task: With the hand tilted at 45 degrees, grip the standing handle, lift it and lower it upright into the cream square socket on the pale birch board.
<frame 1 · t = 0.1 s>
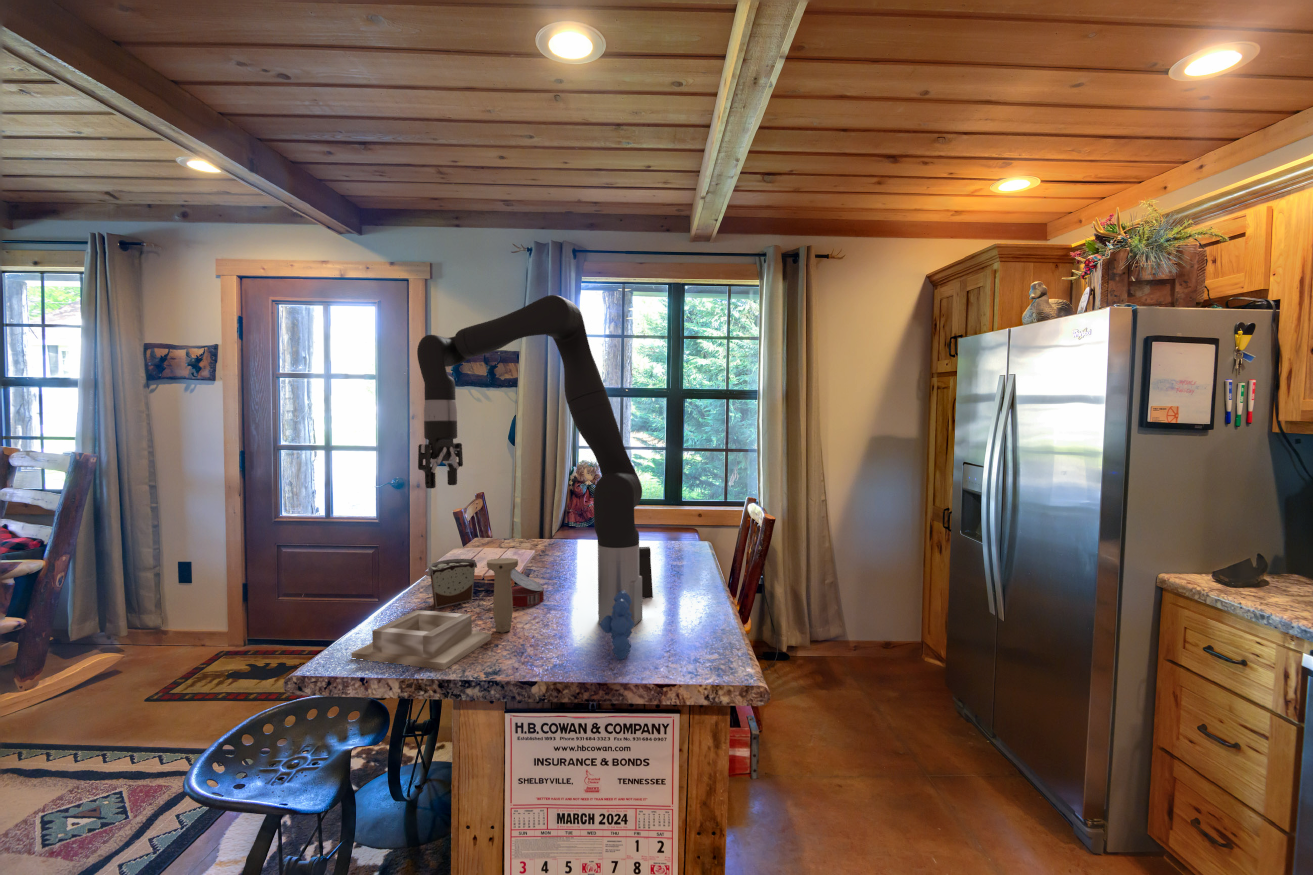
hand: (441, 486, 145), 29 cm above the kitchen island, tool pointing down, fingers open, 8 cm apart
canned food: (524, 602, 150), on the kitchen island
food container: (448, 602, 150), on the kitchen island
door stopper: (638, 594, 156), on the kitchen island
grapes: (617, 656, 114), on the kitchen island
socket stand: (424, 648, 118), on the kitchen island
handle: (503, 631, 128), on the kitchen island
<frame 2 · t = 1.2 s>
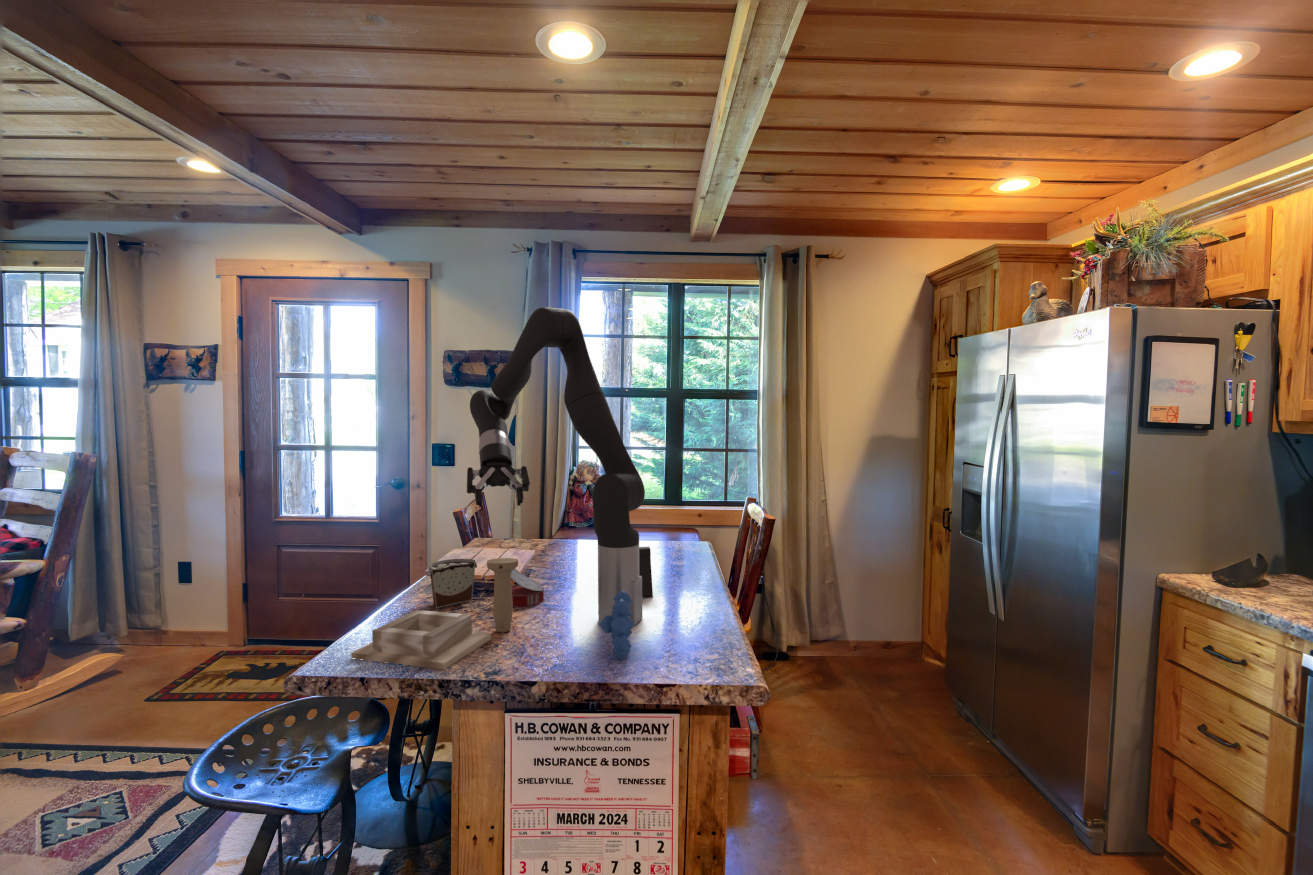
hand: (500, 504, 137), 26 cm above the kitchen island, tool tilted 45°, fingers open, 8 cm apart
nothing on the kitchen island moved.
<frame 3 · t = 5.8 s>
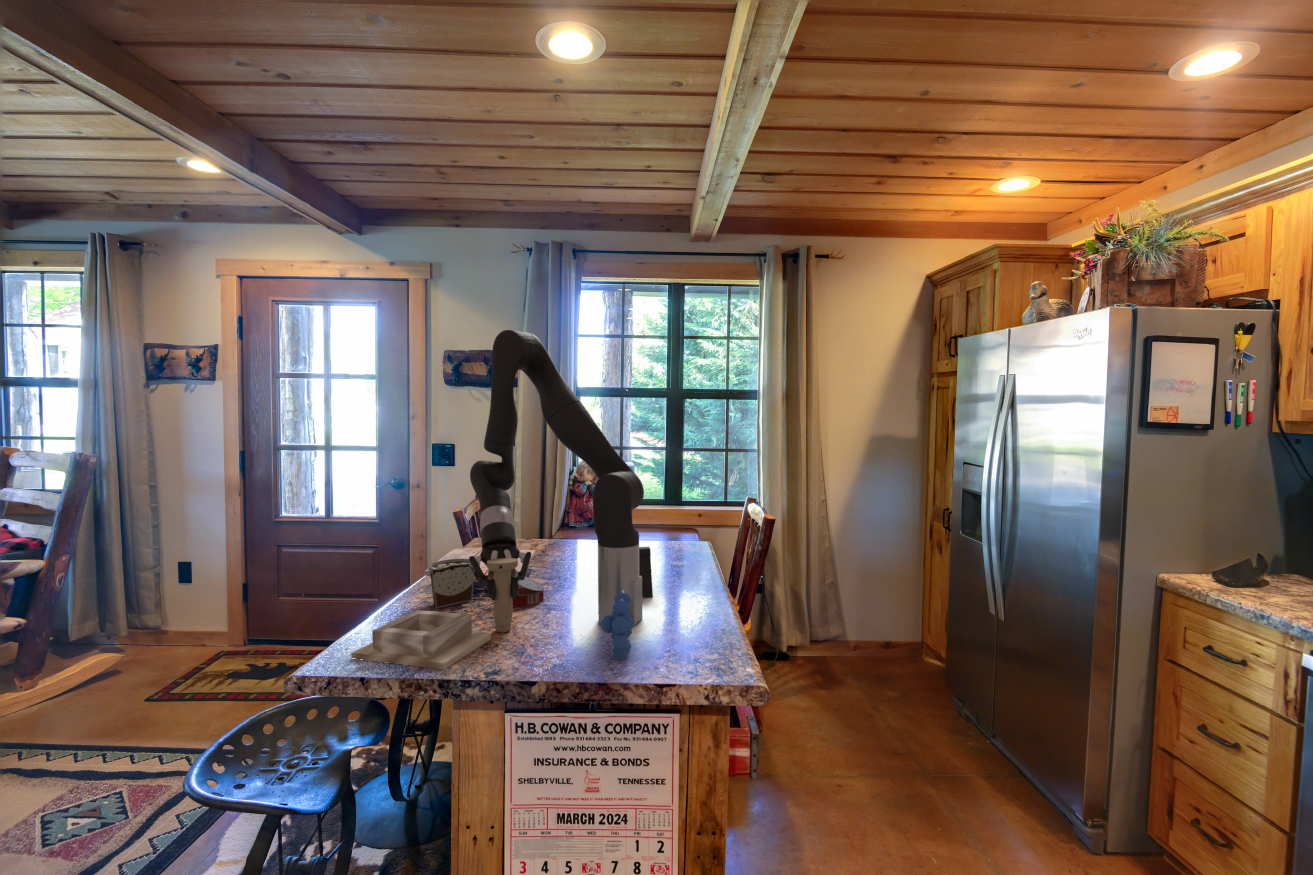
hand: (504, 597, 126), 8 cm above the kitchen island, tool tilted 45°, fingers closed on handle, 3 cm apart
handle: (503, 631, 128), on the kitchen island, touching gripper
everything else where it was.
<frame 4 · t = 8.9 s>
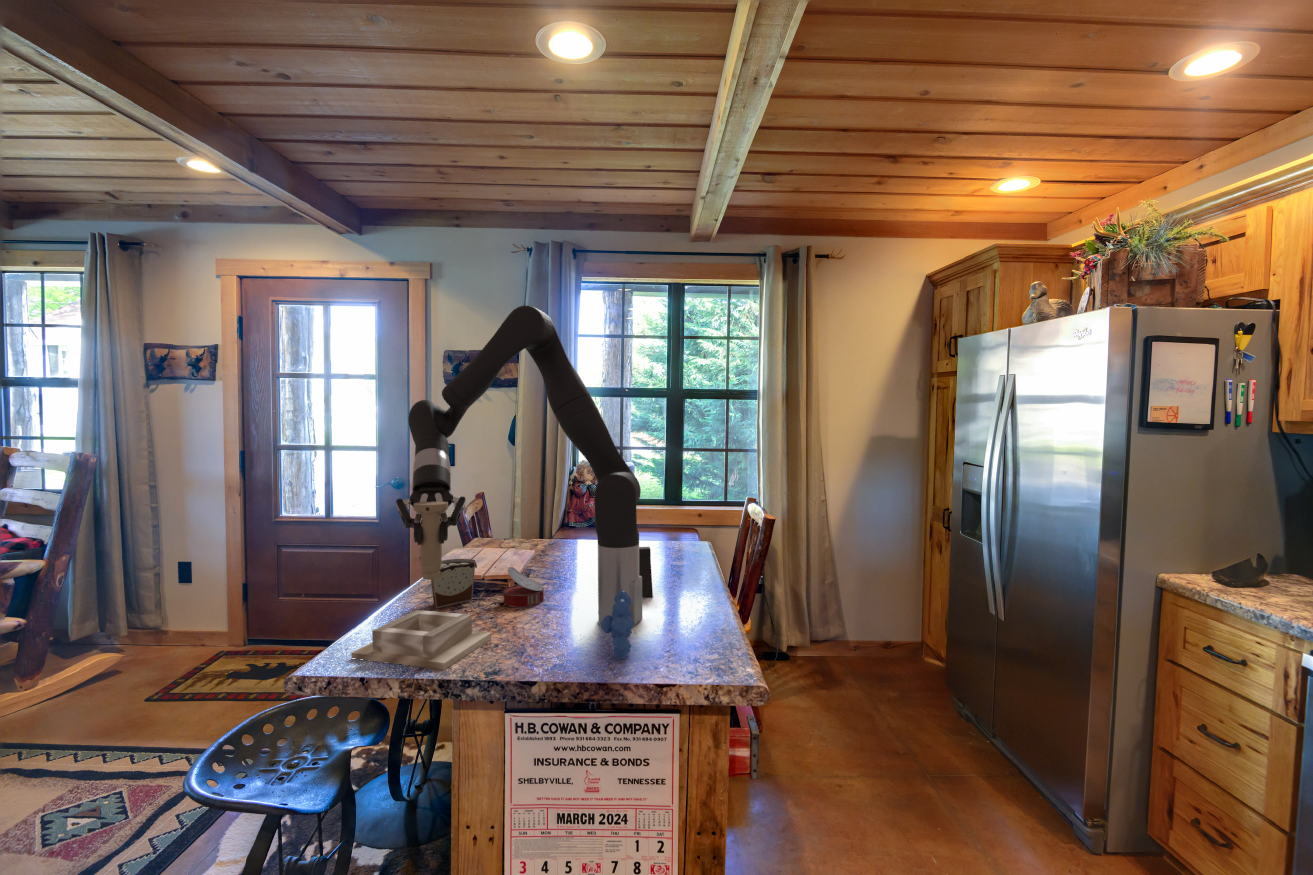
hand: (431, 541, 117), 21 cm above the kitchen island, tool tilted 45°, fingers closed on handle, 3 cm apart
handle: (431, 579, 119), point 13 cm above the kitchen island, touching gripper
everything else where it was.
when the fingers open (9 cm above the kitchen island, at t = 12.3 s): handle stays where it is, resting on socket stand.
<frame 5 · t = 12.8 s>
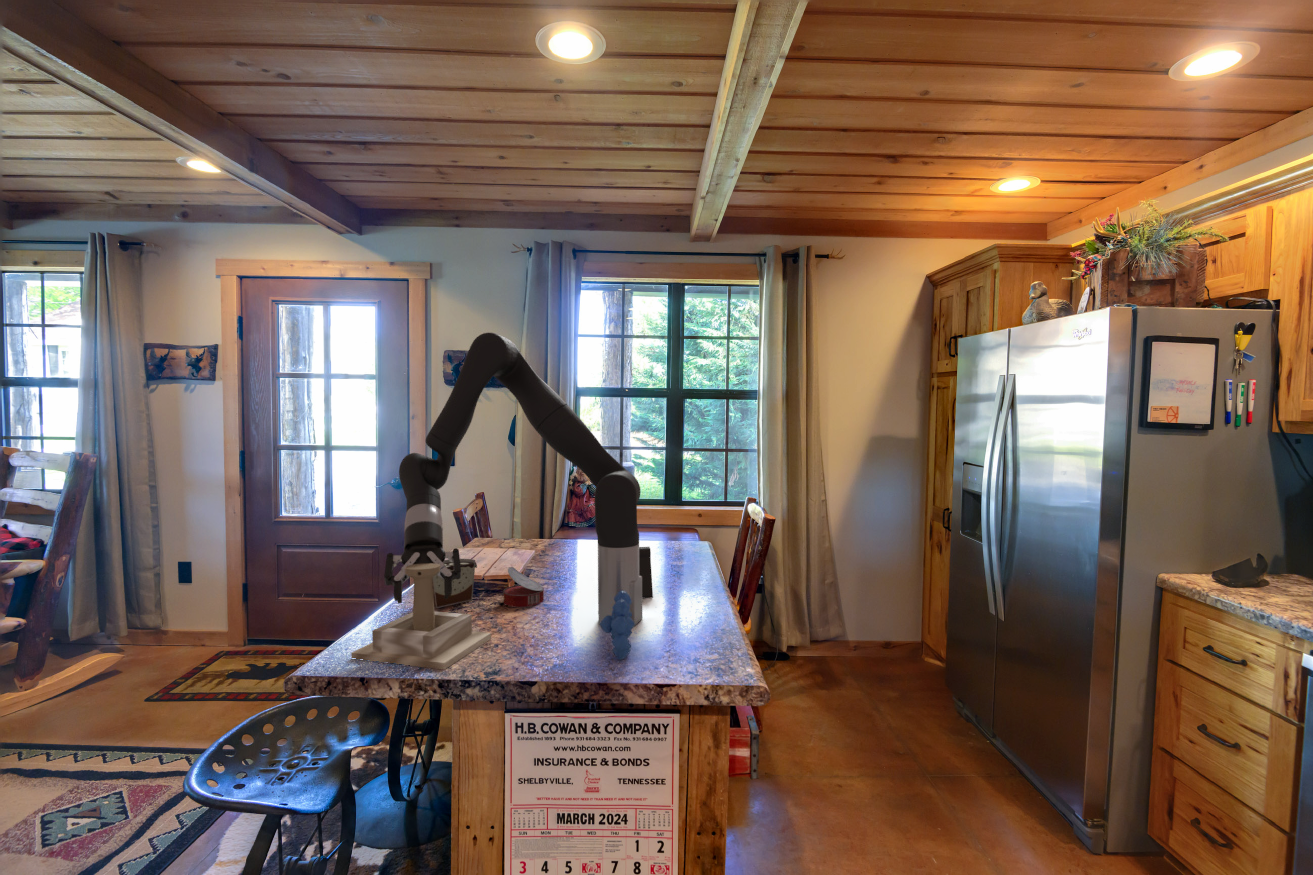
hand: (423, 599, 117), 10 cm above the kitchen island, tool tilted 45°, fingers open, 8 cm apart
handle: (424, 642, 118), point 1 cm above the kitchen island, touching socket stand
everything else where it was.
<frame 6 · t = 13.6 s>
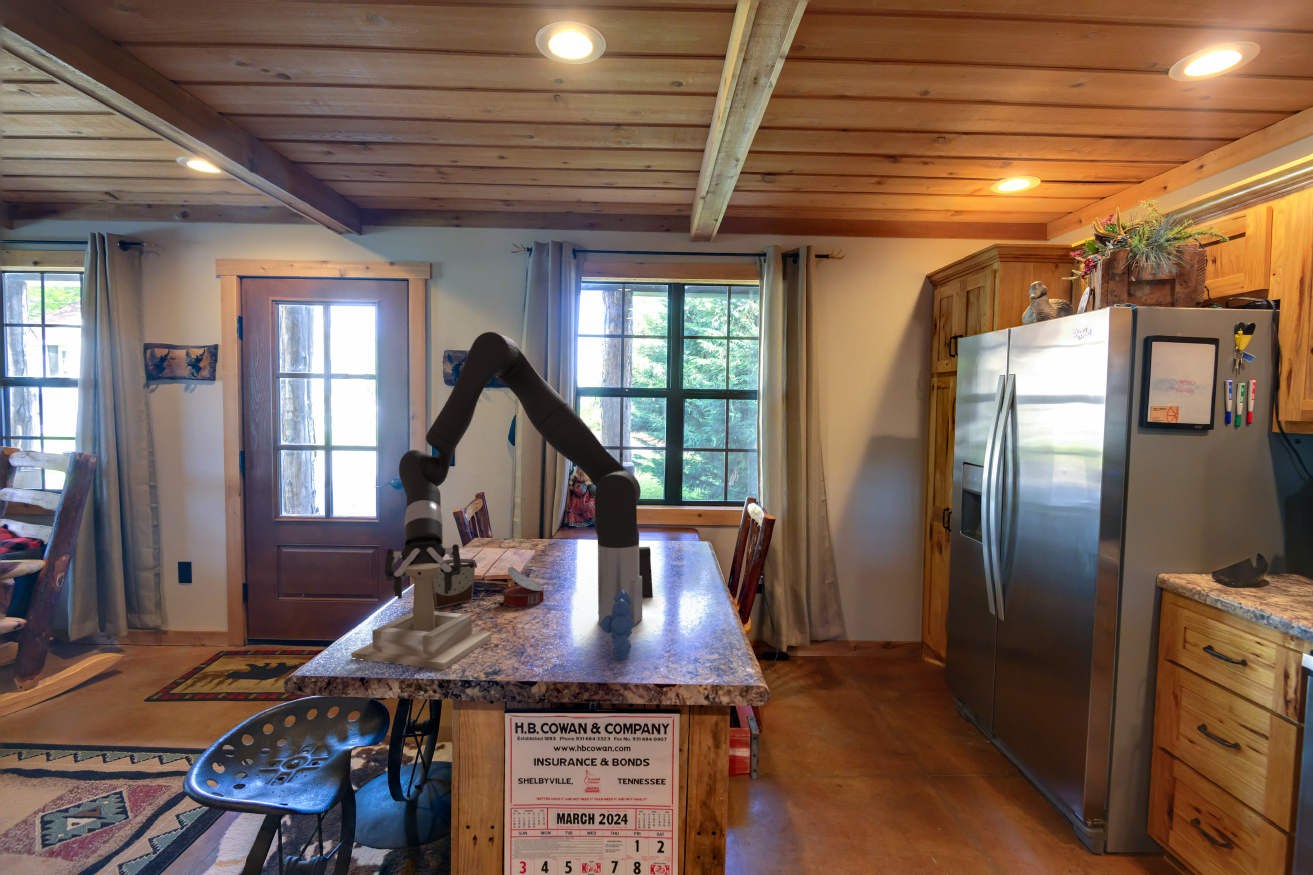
hand: (423, 594, 117), 11 cm above the kitchen island, tool tilted 45°, fingers open, 8 cm apart
nothing on the kitchen island moved.
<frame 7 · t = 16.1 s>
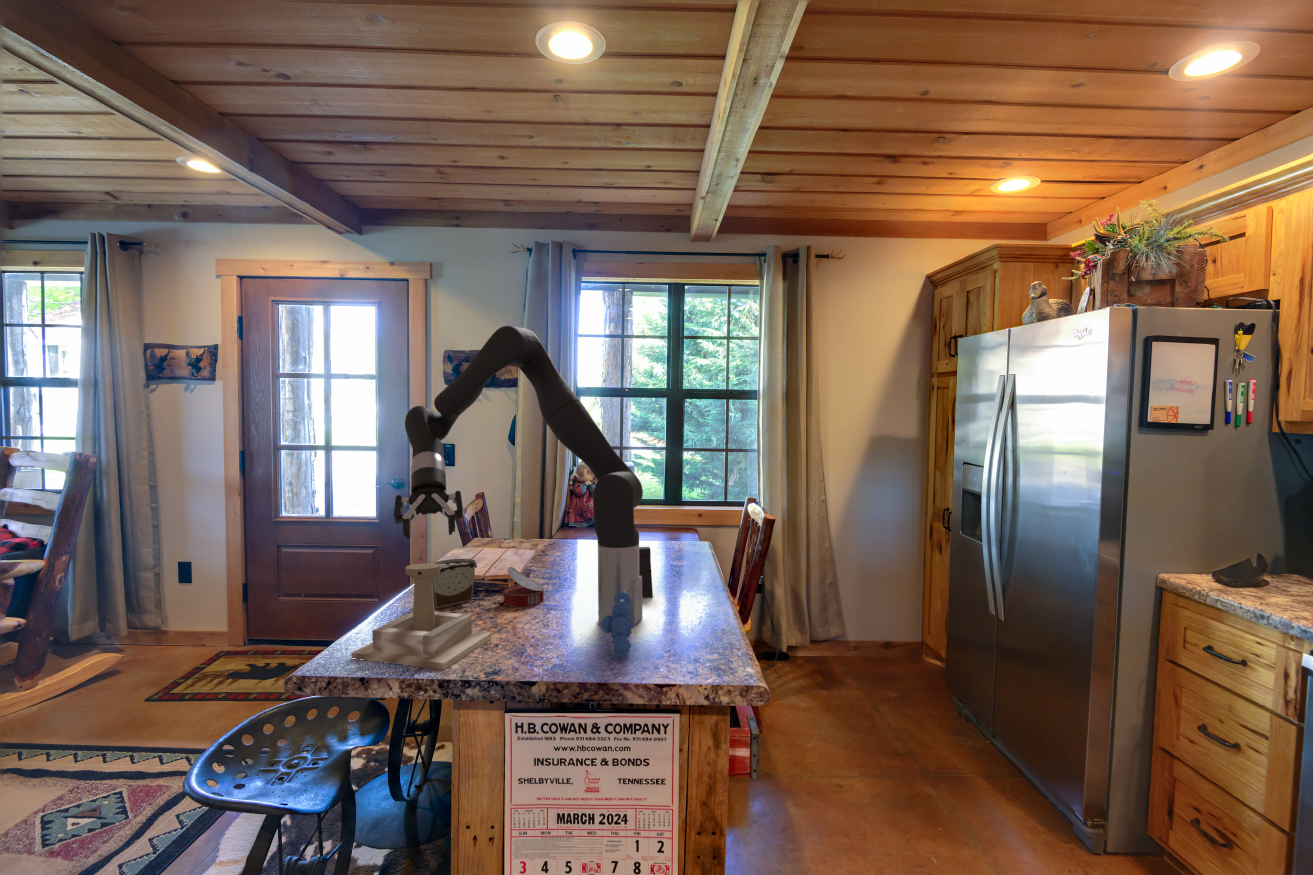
hand: (429, 534, 129), 20 cm above the kitchen island, tool tilted 45°, fingers open, 8 cm apart
nothing on the kitchen island moved.
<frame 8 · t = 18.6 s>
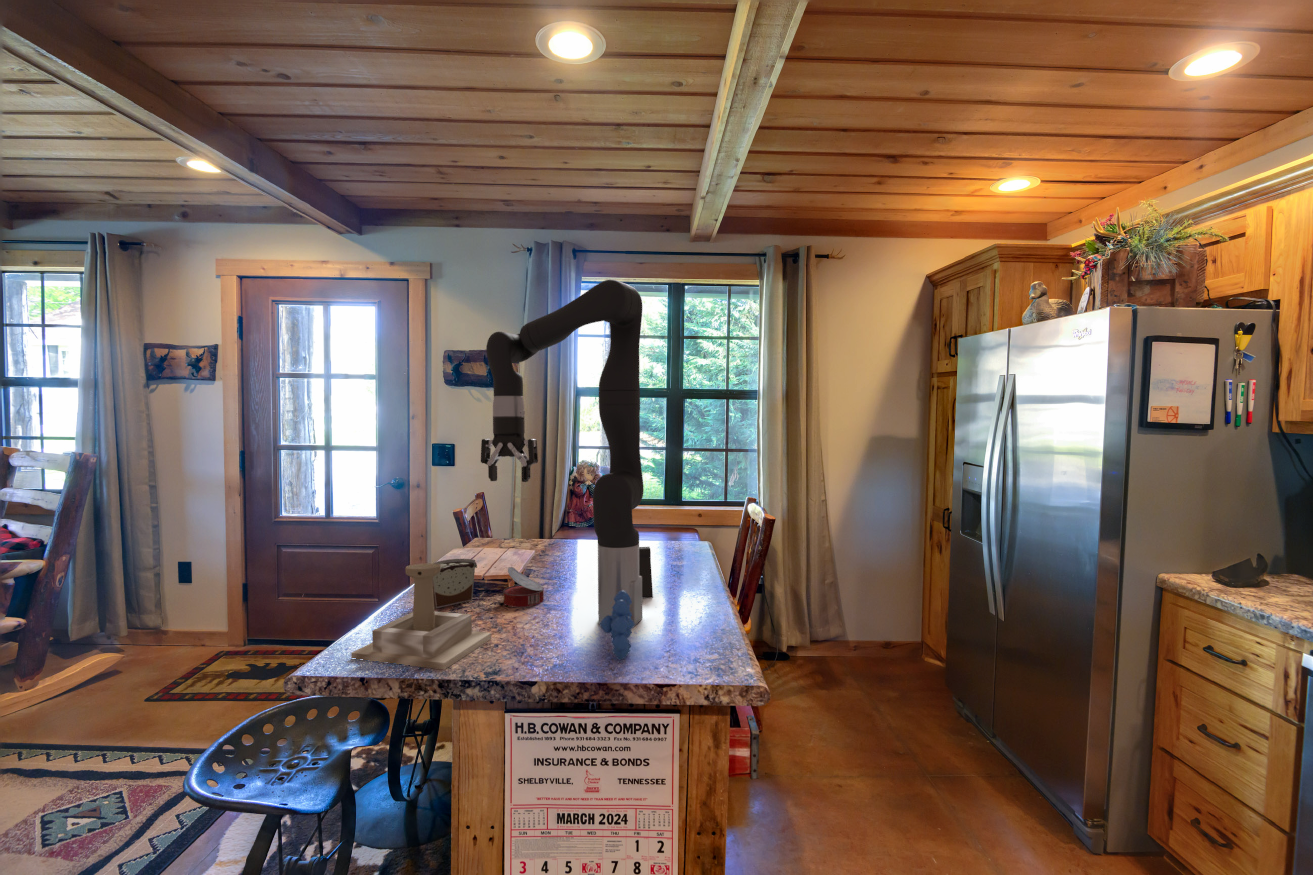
hand: (509, 481, 147), 30 cm above the kitchen island, tool pointing down, fingers open, 8 cm apart
nothing on the kitchen island moved.
at the end: handle 0.2 cm off-centre on the socket stand, point 1.0 cm above the socket stand's base; handle tilted 0°; the gripper is holding nothing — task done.
